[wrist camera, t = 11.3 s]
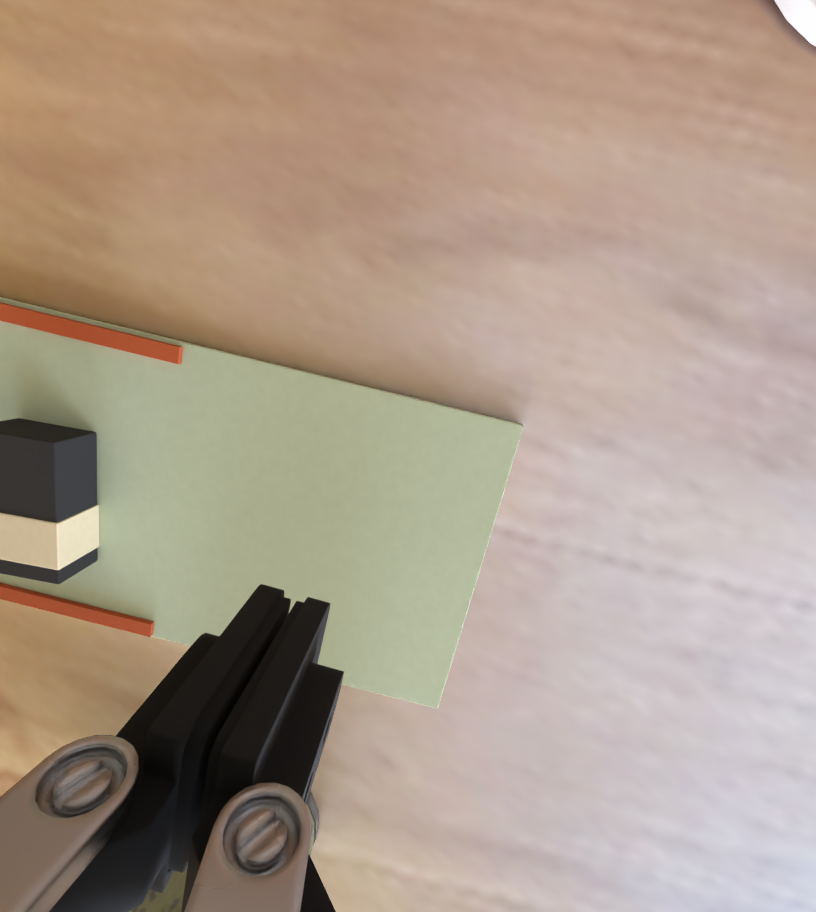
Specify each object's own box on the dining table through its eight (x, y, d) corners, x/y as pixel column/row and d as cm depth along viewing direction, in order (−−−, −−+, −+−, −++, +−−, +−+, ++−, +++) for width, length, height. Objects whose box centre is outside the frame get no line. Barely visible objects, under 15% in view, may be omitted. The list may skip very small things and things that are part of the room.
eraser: (18, 417, 22) (-36, 426, 19) (99, 431, 22) (54, 442, 19) (25, 546, 24) (-25, 570, 21) (100, 560, 24) (59, 586, 21)
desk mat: (-58, 282, 21) (-74, 280, 20) (522, 424, 21) (525, 426, 20) (-50, 579, 25) (-64, 586, 24) (437, 703, 25) (437, 713, 24)
